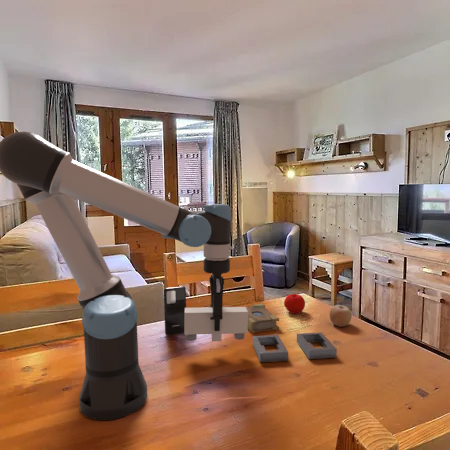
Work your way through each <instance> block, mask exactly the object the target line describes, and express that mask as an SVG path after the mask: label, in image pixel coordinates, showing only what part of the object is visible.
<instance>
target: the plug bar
mask: <svg viewBox="0 0 450 450" xmlns="http://www.w3.org/2000/svg"><path fill="white" fill-rule="evenodd" d="M246 308H247V307H246V306H222V316H223V318H222V335H224V334H230V335H231V334H232V335H234V337H233V338H234V339H235V340H244V339H245V335H246V334H248V331H249V330H248V311H247V309H246ZM212 316H213V307H211V306H209V307H208V306H206V307H202V306H201V307H186V308H185V318H184V333H183V334H184V335H185V336H186V337H185V338H186V339H185V340H186V341H189V342H190V341H191V342H194V341H196V340H197V337H198V336H197V335H212V320H210V317H212Z"/></svg>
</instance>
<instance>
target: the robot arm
mask: <svg viewBox="0 0 450 450" xmlns="http://www.w3.org/2000/svg"><path fill="white" fill-rule="evenodd" d="M0 173H1V174H2V175H3V177H5V178H6V179H8V180H9V181H11V182H12V183H15V184H16V185H17V187H18V189H19V191H20V193H21V194H22V196H23V198H24V201H26V202H29V203H30V204H32V205H35V207H36V208H37V210H38V212H39V215H40V216H41V218H42V220H43V222H44V223H45V224H44V225H45V226H46V227H47V230H48V231H49V234H50V235H51V237H52V239H53V241H54V242H55V245H56V247H57V249H58V251H59V253H60V255H61V257H62V259H63V260H64V262H65V264H66V266H67V268H68V270H69V272H70V274H71V276H72V278H73V279H74V281H75V283H76V286H77V288H78V289H79V293H78V295H77V298H76V299H77V301H78V303H79V306H80V307H81V309H82V316H81V317H82V318H81V324H82V327H83V340H84V341H83V343H84V359H85V363H84V364H85V375H84V379H83V382H82V386H81V390H80V393H79V401H78V402H79V410H80V413H81V414H82V415H83V416H85V418H86V417H87V418H89V419H90V420H91V419H92V420H95V421H97V420H99V421H109V420H116V419H120V418H123V417H126V416H127V415H131V414H132V413H134V412H135V411H137V410H139V409H141V407H142V406H143V405H144V404H145V403H146V401H147V399H148V385H147V381H146V379H145V376H144V375H143V372H142V369H141V366H140V364H139V345H138V344H139V341H138V340H139V338H138V310H137V307H136V304H135V303H136V302H135V301H134V300H133V297H132V295H131V294H130V293H129V291H127V289H126V288H125V285H124V284H123V281H122V279H121V278H120V276H118V275H114V274H112V272H111V270H110V269H109V266H108V265H107V262H106V260H105V259H104V256H103V254H102V253H101V249H100V248H99V245H97V242H96V240H95V238H94V236H93V235H92V232H91V230H90V228H89V226H88V224H87V222H86V220H85V218H84V216H83V214H82V211H81V210H80V208H79V206H78V203H77V202H76V200H78V201H80V202H83V203H85V204H87V205H90V206H93V207H95V208H98V209H99V210H102V211H105V212H107V213H110V214H112V215H115V216H117V217H119V218H122V219H124V220H127V221H130V222H132V223H134V224H137V225H139V226H142V227H143V228H147V229H149V230H151V231H154V232H155V233H159V234H161V237H163V239H166V240H167V239H169V240H170V239H171V240H176V241H178V242H179V243H180V242H181V243H183V245H185V246H187V247H192V248H199V247H202V246H203V257H204V259H203V271H204V272H205V273H206V274H210V276H209V290H210V306H209V307H213V316H212V317H210V320H212V334H211V342H222V336H223V334H222V318H223V316H222V307H223V297H224V296H223V295H224V285H225V279H224V277H223V274H228V273H229V272H230V270H231V259H230V258H229V257H231V250H233V247H232V246H231V225H232V224H231V223H232V217H231V216H232V215H231V214H232V213H231V207H230V206H229V204H226V203H205V205H204V206H203V210H198V211H197V210H196V211H195V210H187V209H186V208H183V207H180V206H178V205H176V204H175V203H172V202H170V201H167V200H165V199H163V198H162V197H161V198H160V197H158V196H155V195H153V194H151V193H149V192H147V191H144V190H142V189H140V188H139V187H138V188H137V187H136V186H133V185H131V184H129V183H126V182H124V181H122V180H120V179H118V178H115V177H113V176H111V175H109V174H106V173H105V172H102V171H99V170H97V169H95V168H92V167H91V166H88V165H85V164H83V163H81V162H80V161H79V162H78V161H76V159H75V160H74V159H73V157H72V155H71V153H70V152H68V151H65V150H64V149H62V148H59V147H58V146H55V144H53V143H52V142H50V141H48V140H47V139H45V138H44V137H42V136H40V135H38V134H36V133H33V132H29V131H16V132H12V133H10V134H8V135H6V136H5V137H4V138H2V140H1V141H0Z"/></svg>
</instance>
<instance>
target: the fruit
mask: <svg viewBox="0 0 450 450" xmlns="http://www.w3.org/2000/svg"><path fill="white" fill-rule="evenodd" d="M352 315H353V314H352V311H351V309H350V308H349V307H348V306H346V305H342V302H339V304H337V305H333V306H332V307H331V308H330V310H329V319H330V322H331V323H332V324H333V325H335V326H337V327H340V328H341V327H346V326H347V325H349V324H350V323H351V320H352Z"/></svg>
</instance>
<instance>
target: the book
mask: <svg viewBox="0 0 450 450" xmlns="http://www.w3.org/2000/svg"><path fill="white" fill-rule="evenodd" d="M246 309H247V311H248V331H249V332H250V333H251V334H254V333H258V332H259V333H260V332H265V331H271V330H272V331H277V330H280V326H279V325H277V322H280V318H279V317H278V316H277V315H276V314H272V313H271V312H270V311H269V310H268V309H267V308H266V305H265V304H264V303H255V304H252V305H249V306H248V307H246Z"/></svg>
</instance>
